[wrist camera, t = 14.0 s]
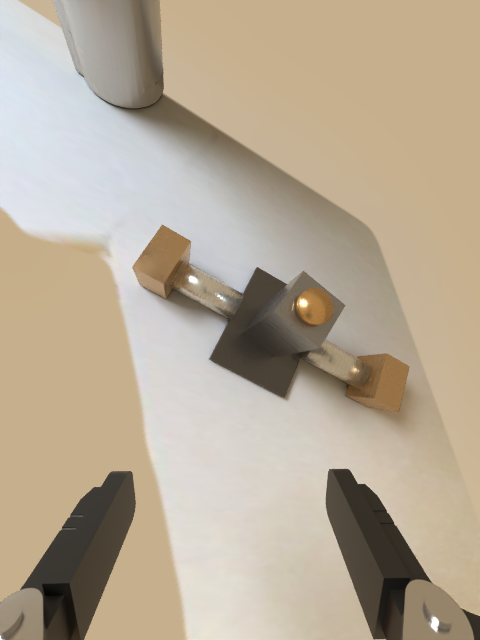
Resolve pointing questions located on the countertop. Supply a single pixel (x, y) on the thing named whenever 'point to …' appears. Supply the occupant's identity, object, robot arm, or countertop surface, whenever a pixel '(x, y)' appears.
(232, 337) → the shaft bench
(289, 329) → the gold-capped grey pillar
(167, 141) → the countertop surface
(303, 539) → the countertop surface
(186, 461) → the countertop surface
